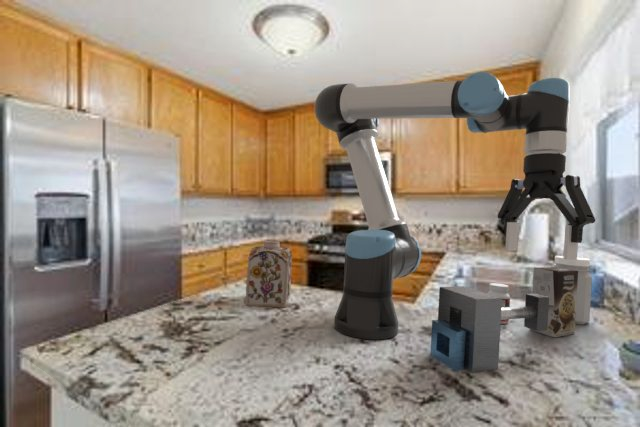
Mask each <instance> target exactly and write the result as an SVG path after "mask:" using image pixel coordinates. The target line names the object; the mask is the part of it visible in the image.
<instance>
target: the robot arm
mask: <svg viewBox="0 0 640 427" xmlns="http://www.w3.org/2000/svg"><path fill="white" fill-rule="evenodd" d="M570 86H571V84H570V83H569V81H568V80H566V79H565V78H561V77H547V78H542V79H541V80H536V81H534V82H532V83H530V85H529V86H528V90H527V92H526V93H522V94H521V93H520V94H516V95H508V94H507V93H506V91H505V88H504V85H503V84H502V82H501V81H500V79H498V78H497V77H496V76H495V75H493V73H490V72H486V71H477V72H475V73H472V74H470V75H469V76H467V77H466V78H464V79H461V80H451V81H435V82H420V83H406V84H404V83H403V84H389V85H387V84H386V85H374V86H373V85H372V86H357V85H356V84H354V83H352V82H351V83H338V84H333V85H329V86H326V87H324V88H323V89H322V90H321V91H320V92H319V93H318V95H317V97H316V99H315V102H314V108H313V109H314V113H315V114H314V115H315V118H316V119H317V121H318V122H319V124H320V125H321V126H323V127H324V128H325V129H327V130H330V131H331V132H335V133H336V137H337V140H338V144H339V146H340V148H341V149H343V150H345V151H346V152H347V153H346V154H347V156H348V160H349V164H350V167H351V170H352V173H353V177H354V181H355V184H356V187H357V190H358V194H359V195H358V196H359V198H360V201H361V205H362V207H363V211H364V214H365V215H364V216H365V217H366V218H365V219H366V222H367V225H368V229H360V230H359V229H358V230H354V231H352V232H350V233H349V234H347V237H346V239H345V246H344V268H343V269H344V274H343V290H342V291H343V292H342V296H341V299H340V302H339V304H338V307H337V309H336V313H335V315H334V322H333V323H334V324H333V327H334V329H335V330H336V331H337V332H339V333H341V334H343V335H346V336H347V337H352V338H356V339H361V340H386V339H391V338H394V337H395V336H397V335H398V334H399V320H398V316H397V312H396V309H395V305H394V301H393V290H394V287H393V286H394V280H395V279H401V278H404V277H405V278H406V277H407V276H409V275H410V274H411V273H413V272H415V271H416V270H417V268H418V267H419V265H420V263H421V261H422V248H421V245H420V244H419V242H418V241H417V240H416V238H414V237H413V236H411V232H410V229H409V226H408V224H407V222H406V221H404V220H402V219H400V217H399V214H398V210H397V208H396V204H395V201H394V197H393V194H392V191H391V188H390V185H389V182H388V179H387V176H386V172H385V168H384V166H383V163H382V160H381V155H380V153H379V152H380V151H379V150H378V146H377V143H376V140H377V138H378V137H379V132H378V127H379V124H380V119H381V120H382V119H386V120H387V119H389V120H390V119H391V120H393V119H396V120H397V119H466V124H467V129H468V130H469V131H470V132H471V133H475V134H476V133H484V134H487V133H492V132H493V133H495V132H501V131H502V132H503V131H515V130H516V131H517V130H525V140H524V149H523V151H524V152H523V153H524V155H526V156H524V157H523V170H522V171H523V173H524V179H520V178H519V179H518V178H513V179H512V180H511V183H510V187H509V191H508V193H507V194H506V197H505V199H504V201H503V203H502V205H501V207H500V210H499V212H498V214H497V218H498V219H501V220H503V221H504V230H503V231H504V232H503V234H504V236H506V237H505V247H504V248H505V249H504V251H513V252H514V251H517V250H518V237H519V225H520V224H519V222H518V218H520V216H521V215H522V213H523V212H524V211H525V210H526V209H527V207H528V206H530V204H531V202H533V201H535V200H543V199H545V200H546V199H547V200H551V201H552V202H553V203H554V204H555V205H556V207H557V209H558V210H559V211H560V212H561V214H562V215H563V216H564V218H565V219H566V221H567V222H568V224H567V225H565V228H564V243H563V255H562V256H563V259H567V260H577V257H578V252H579V251H578V247H579V244H581V243H582V241H583V236H584V234H583V233H584V226H586V225H589V224H595V222H596V217H595V216H594V213H593V212H592V208H591V206H590V205H589V202H588V200H587V198H586V196H585V194H584V191H583V190H582V187H581V177H580V176H579V175H572V174H567V175H566V176H564V173H565V172H566V163H567V161H566V160H567V157H566V155H565V153H566V152H567V143H568V129H569V127H568V126H569V118H570V116H569V115H570V106H571V105H570V104H571V101H570V100H571V99H570V98H571V97H570V96H571V93H570V91H571V89H570V88H571V87H570ZM563 186H564V187H565V189H566V193H567V194H568V196H569V199H570V201H571V202H570V201H569V199H568V198H567V196H566V194H565V193H564V191H563V190H562V187H563Z"/></svg>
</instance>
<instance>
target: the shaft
mask: <svg viewBox="0 0 640 427" xmlns="http://www.w3.org/2000/svg"><path fill="white" fill-rule="evenodd" d="M548 310H549V297H547V296H543V295H539V294H532V293H525V304H524V306H523V305H522V306H510V307H502V308H501V320H507V319H509V320H518V319H519V320H520V319H523V320H524V323H523V327H525V328H527V329H529V330H530V329H532V330H531V331H533V330H535V331H534V332H536V331H545V330H547V328H548Z"/></svg>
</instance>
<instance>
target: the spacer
mask: <svg viewBox="0 0 640 427" xmlns="http://www.w3.org/2000/svg"><path fill="white" fill-rule="evenodd" d="M430 334H431V336H430V337H431V338H430V340H431V341H430V352H429V353H430V354H429V355H430V356H431V357H433V358H434V359H436V360H438V361H439V362H441V363H442V364H444V365H445V366H447V367H448V368H450V370H452V371H455V372H456V371H463V370H464V369H465V368H464V353H465V334H466V331H464V330H462V329H459V328H457V327H455V326H453V325H451V324H449V323H447V322H445V321H442V320H438V319H433V320H431V333H430ZM445 336H447V337H449V338H450V344H449V351H447V350H445Z"/></svg>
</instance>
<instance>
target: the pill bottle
mask: <svg viewBox="0 0 640 427" xmlns="http://www.w3.org/2000/svg"><path fill="white" fill-rule="evenodd" d="M488 289H489V291H488V292H486V293H487V294H490V295H493V296H497V297H500V298H502V307H511V296H510V294H509V293H508V291H509V285H507V284H503V283H495V282H491V283H489V286H488ZM509 322H510V319H507V320H501V325H502V324H503V325H506V324H508V323H509Z"/></svg>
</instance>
